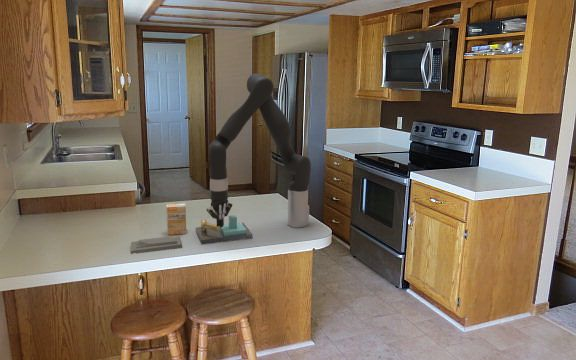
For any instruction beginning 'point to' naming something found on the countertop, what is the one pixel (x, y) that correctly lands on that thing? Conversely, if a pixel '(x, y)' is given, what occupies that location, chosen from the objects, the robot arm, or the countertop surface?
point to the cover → (233, 227)
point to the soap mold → (156, 244)
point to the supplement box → (176, 219)
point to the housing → (220, 236)
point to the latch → (209, 226)
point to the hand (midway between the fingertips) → (220, 226)
